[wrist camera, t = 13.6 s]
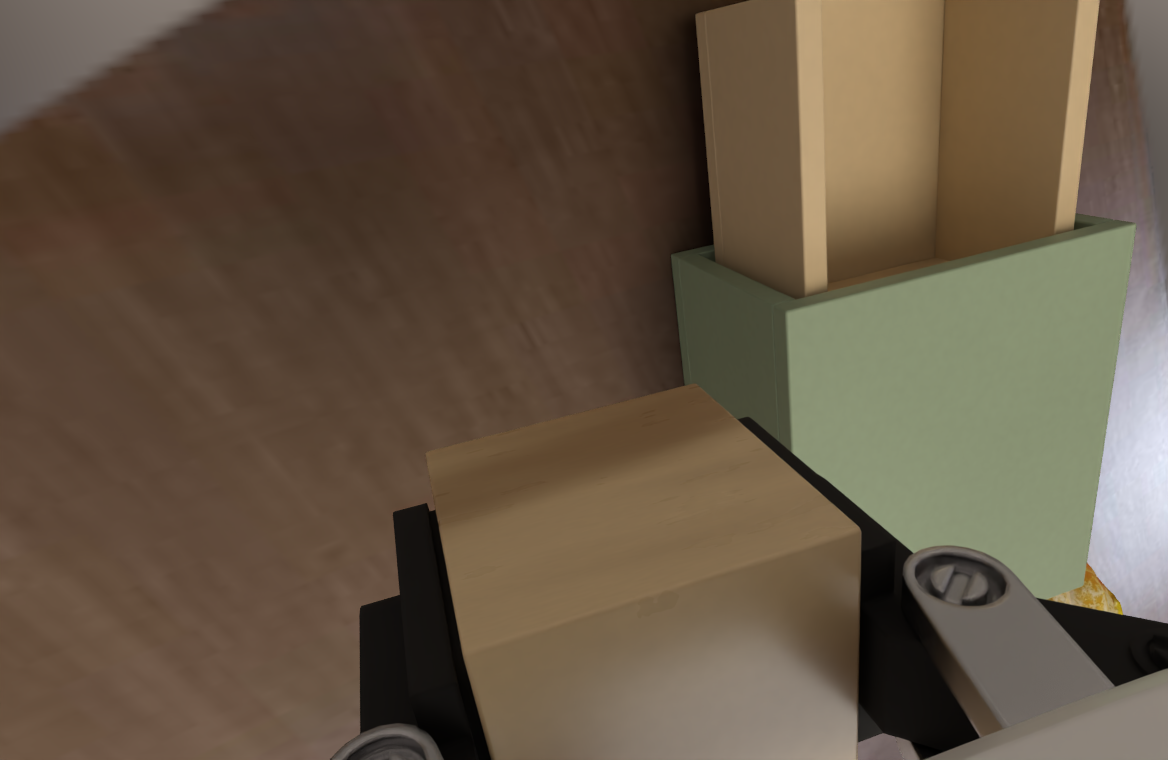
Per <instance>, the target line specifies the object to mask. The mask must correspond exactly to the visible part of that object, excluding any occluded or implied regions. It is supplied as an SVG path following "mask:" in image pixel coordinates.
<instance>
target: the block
mask: <svg viewBox="0 0 1168 760" xmlns="http://www.w3.org/2000/svg"><path fill="white" fill-rule="evenodd" d="M425 456H426V462H427V467H428V472H429V478H430V483H431V488H432V494H433V499H434V504H435V510H436V515H437V521H438V526H439V531H440V537H441V542H442V547H443V553H444V558H445V563H446V569H447V574H448V579H449V585H450V590H451V595H452V601H453V606H454V612H455V617H456V622H457V628H458V633H459V638H460V644H461V649H462V654H463V658H464V662H465V665H466V669H467V673H468V677H469V680H470V684H471V688H472V691H473V695H474V699H475V702H476V706H477V710H478V713H479V717H480V721H481V724H482V728H483V732H484V735H485V739H486V743H487V746H488V750H489V754H490V757H491V760H857V756H858V699H859V641H860V583H861V530H860V528H859V526H857V525H856V524H855V523H854V522H853V521H852V520H851V519H849V518H848V517H847V516H846V515H845V514H844V513H843V512H842V511H840V510H839V509H838V508H837V507H836V506H835V505H834V504H832V503H831V502H830V501H829V500H828V499H827V498H826V497H824V496H823V495H822V494H821V493H820V492H819V491H818V490H817V489H815V488H814V487H813V486H812V485H811V484H810V483H809V482H807V481H806V480H805V479H804V478H803V477H802V476H801V475H799V474H798V473H797V472H796V471H795V470H794V469H793V468H792V467H790V466H789V465H788V464H787V463H786V462H785V461H784V460H782V459H781V458H780V457H779V456H778V455H777V454H776V453H774V452H773V451H772V450H771V449H770V448H769V447H768V446H767V445H765V444H764V443H763V442H762V441H761V440H760V439H759V438H757V437H756V436H755V435H754V434H753V433H752V432H751V431H749V430H748V429H747V428H746V427H745V426H744V425H743V424H742V423H740V422H739V421H738V420H737V419H736V418H735V417H734V416H732V415H731V414H730V413H729V412H728V411H727V410H726V409H724V408H723V407H722V406H721V405H720V404H719V403H718V402H716V401H715V400H714V399H713V398H712V397H711V396H710V395H709V394H707V393H706V392H705V391H704V390H703V389H702V388H701V387H699V386H698V385H697V384H690V385H686V386H682V387H678V388H674V389H670V390H666V391H662V392H659V393H655V394H651V395H647V396H643V397H639V398H635V399H631V400H627V401H623V402H619V403H616V404H612V405H608V406H604V407H600V408H596V409H592V410H588V411H584V412H580V413H576V414H573V415H569V416H565V417H561V418H557V419H553V420H549V421H545V422H541V423H537V424H533V425H530V426H526V427H522V428H518V429H514V430H510V431H506V432H502V433H498V434H494V435H490V436H487V437H483V438H479V439H475V440H471V441H467V442H463V443H459V444H455V445H451V446H448V447H444V448H440V449H436V450H432V451H428V452H426V455H425Z"/></svg>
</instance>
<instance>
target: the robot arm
mask: <svg viewBox="0 0 1168 760" xmlns="http://www.w3.org/2000/svg"><path fill="white" fill-rule="evenodd" d="M737 420H738V421H739V422H740V423H742V424H743V425H744V426H745V427H746V428H747V429H748V430H749V431H751V432H752V433H753V434H754V435H755V436H756V437H757V438H759V439H760V440H761V441H762V442H763V443H764V444H765V445H767V446H768V447H769V448H770V449H771V450H772V451H773V452H774V453H776V454H777V455H778V456H779V457H780V458H781V459H782V460H784V461H785V462H786V463H787V464H788V465H789V466H790V467H792V468H793V469H794V470H795V471H796V472H797V473H798V474H799V475H801V476H802V477H803V478H804V479H805V480H806V481H807V482H809V483H810V484H811V485H812V486H813V487H814V488H815V489H817V490H818V491H819V492H820V493H821V494H822V495H823V496H824V497H826V498H827V499H828V500H829V501H830V502H831V503H832V504H834V505H835V506H836V507H837V508H838V509H839V510H840V511H842V512H843V513H844V514H845V515H846V516H847V517H848V518H849V519H851V520H852V521H853V522H854V523H855V524H856V525H857V526H859V528H860V530H861V583H860V641H859V699H858V742H860V741H863V740H866V739H868V738H871V737H874V736H876V735H879V734H882V733H885V734H888V735H892V736H895V739H896V742H897V745H898V748H899V751H900V753H901V755H902V757H903V759H904V760H1168V624H1167V623H1162V622H1157V621H1152V620H1147V619H1142V618H1137V617H1132V616H1126V615H1121V614H1116V613H1111V612H1106V611H1101V610H1096V609H1091V608H1086V607H1081V606H1076V605H1071V604H1066V603H1061V602H1056V601H1051V600H1046V599H1041V598H1036V597H1035V596H1034V595H1033V594H1032V593H1031V592H1030V591H1029V589H1028V588H1027V587H1026V586H1025V585H1024V584H1023V583H1022V582H1021V580H1020V579H1019V578H1018V577H1017V576H1016V575H1015V574H1014V573H1013V572H1012V570H1010V569H1009V568H1008V567H1007V566H1006V565H1005V564H1003V563H1002V562H1001V561H1000V560H998V559H996V558H994V557H992V556H990V555H988V554H986V553H984V552H981V551H977V550H974V549H971V548H967V547H960V546H953V545H944V546H932V547H928V548H924V549H920V550H919V551H917V552H915V553H913V552H912V551H911V550H909V549H908V548H907V547H906V546H905V545H903V544H902V543H901V542H900V541H899V540H898V539H896V538H895V537H894V536H893V535H892V534H890V533H889V532H888V531H887V530H886V529H884V528H883V527H882V526H881V525H880V524H879V523H877V522H876V521H875V520H874V519H873V518H871V517H870V516H869V515H868V514H867V513H865V512H864V511H863V510H862V509H861V508H860V507H858V506H857V505H856V504H855V503H854V502H852V501H851V500H850V499H849V498H848V497H846V496H845V495H844V494H843V493H842V492H841V491H839V490H838V489H837V488H836V487H835V486H833V485H832V484H831V483H830V482H829V481H827V480H826V479H825V478H823V477H822V476H820V475H818V474H817V473H815V472H814V471H813V470H812V469H811V468H810V467H808V466H807V465H806V464H805V463H804V462H802V461H801V460H800V459H799V458H798V457H797V456H795V455H794V454H793V453H792V452H791V451H789V450H788V449H787V448H786V447H785V446H784V445H782V444H781V443H780V442H779V441H778V440H776V439H775V438H774V437H773V436H772V435H771V434H769V433H768V432H767V431H766V430H765V429H763V428H762V427H761V426H760V425H759V424H758V423H756V422H755V421H754V420H753V419H752V418H750V417H744V418H740V419H737ZM393 519H394V531H395V543H396V554H397V566H398V577H399V589H400V595H398V596H394V597H391V598H388V599H384V600H381V601H377V602H374V603H371V604H367V605H364V606H361V608H360V735H358V736H357V737H355V738H354V739H352V740H351V741H349V742H347V743H346V744H345V745H344V746H343V747H342V748H341V749H340V750H339V751H338V752H337V753H336V754H335V755H334V756H333V757H332V758H331V759H330V760H491V757H490V754H489V750H488V746H487V743H486V739H485V735H484V732H483V728H482V724H481V721H480V717H479V713H478V710H477V706H476V702H475V699H474V695H473V691H472V688H471V684H470V680H469V677H468V673H467V669H466V665H465V662H464V658H463V654H462V649H461V644H460V638H459V633H458V628H457V622H456V617H455V612H454V606H453V601H452V595H451V590H450V585H449V579H448V574H447V569H446V563H445V558H444V553H443V547H442V542H441V537H440V531H439V526H438V521H437V515H436V510H433V511H429V508H428V505H427V503H425V504H421V505H418V506H414V507H410V508H407V509H403V510H399V511H395V512H393Z"/></svg>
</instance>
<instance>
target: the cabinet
mask: <svg viewBox="0 0 1168 760" xmlns="http://www.w3.org/2000/svg"><path fill="white" fill-rule="evenodd" d="M1135 232H1136V224H1135V223H1132V222H1126V221H1119V220H1112V219H1107V218H1101V217H1095V216H1089V215H1083V214H1076V213H1075V221H1074V230H1073V231H1069V232H1065V233H1061V234H1057V235H1053V236H1049V237H1045V238H1041V239H1037V240H1033V241H1029V242H1025V243H1021V244H1017V245H1013V246H1009V247H1005V248H1001V249H997V250H993V251H989V252H985V253H981V254H977V255H973V256H969V257H965V258H961V259H957V260H953V261H949V262H945V263H941V264H937V265H933V266H929V267H925V268H921V269H917V270H913V271H909V272H905V273H901V274H897V275H893V276H888V277H884V278H880V279H876V280H872V281H868V282H864V283H860V284H856V285H852V286H848V287H844V288H840V289H836V290H832V291H828V292H824V293H820V294H816V295H812V296H808V297H804V298H800V299H796V300H795V299H794V298H792V297H790V296H787V295H785V294H783V293H781V292H779V291H776V290H774V289H772V288H770V287H768V286H766V285H763V284H761V283H759V282H757V281H755V280H752V279H750V278H748V277H746V276H744V275H742V274H739V273H737V272H735V271H733V270H731V269H729V268H726V267H724V266H722V265H720V264H718V263H716V261H715V249H714V245H710V246H705V247H701V248H696V249H692V250H688V251H683V252H679V253H674V254H671V261H672V271H673V280H674V290H675V299H676V309H677V318H678V327H679V337H680V346H681V356H682V365H683V374H684V384H685V386H686V385H690V384H697V385H698V386H699V387H701V388H702V389H703V390H704V391H705V392H706V393H707V394H709V395H710V396H711V397H712V398H713V399H714V400H715V401H716V402H718V403H719V404H720V405H721V406H722V407H723V408H724V409H726V410H727V411H728V412H729V413H730V414H731V415H732V416H734V417H735V418H736V419H740V418H744V417H750V418H752V419H753V420H754V421H755V422H756V423H758V424H759V425H760V426H761V427H762V428H763V429H765V430H766V431H767V432H768V433H769V434H771V435H772V436H773V437H774V438H775V439H776V440H778V441H779V442H780V443H781V444H782V445H784V446H785V447H786V448H787V449H788V450H789V451H791V452H792V453H793V454H794V455H795V456H797V457H798V458H799V459H800V460H801V461H802V462H804V463H805V464H806V465H807V466H808V467H810V468H811V469H812V470H813V471H814V472H815V473H817V474H818V475H820V476H822V477H823V478H825V479H826V480H827V481H829V482H830V483H831V484H832V485H833V486H835V487H836V488H837V489H838V490H839V491H841V492H842V493H843V494H844V495H845V496H846V497H848V498H849V499H850V500H851V501H852V502H854V503H855V504H856V505H857V506H858V507H860V508H861V509H862V510H863V511H864V512H865V513H867V514H868V515H869V516H870V517H871V518H873V519H874V520H875V521H876V522H877V523H879V524H880V525H881V526H882V527H883V528H884V529H886V530H887V531H888V532H889V533H890V534H892V535H893V536H894V537H895V538H896V539H898V540H899V541H900V542H901V543H902V544H903V545H905V546H906V547H907V548H908V549H909V550H911V551H912V552H913V553H915V552H917V551H919V550H920V549H924V548H928V547H932V546H944V545H953V546H960V547H967V548H971V549H974V550H977V551H981V552H984V553H986V554H988V555H990V556H992V557H994V558H996V559H998V560H1000V561H1001V562H1002V563H1003V564H1005V565H1006V566H1007V567H1008V568H1009V569H1010V570H1012V572H1013V573H1014V574H1015V575H1016V576H1017V577H1018V578H1019V579H1020V580H1021V582H1022V583H1023V584H1024V585H1025V586H1026V587H1027V588H1028V589H1029V591H1030V592H1031V593H1032V594H1033V595H1034V596H1035V597H1036V598H1041V599H1049V598H1052V597H1054V596H1057V595H1060V594H1063V593H1065V592H1068V591H1071V590H1073V589H1076V588H1079V587H1081V586H1083V585H1084V578H1085V571H1086V564H1087V558H1088V551H1089V544H1090V537H1091V530H1092V524H1093V517H1094V510H1095V503H1096V497H1097V490H1098V483H1099V476H1100V469H1101V463H1102V456H1103V449H1104V442H1105V435H1106V429H1107V422H1108V415H1109V408H1110V402H1111V395H1112V388H1113V381H1114V374H1115V368H1116V361H1117V354H1118V347H1119V340H1120V334H1121V327H1122V320H1123V313H1124V307H1125V300H1126V293H1127V286H1128V279H1129V273H1130V266H1131V259H1132V252H1133V245H1134V239H1135Z"/></svg>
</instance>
